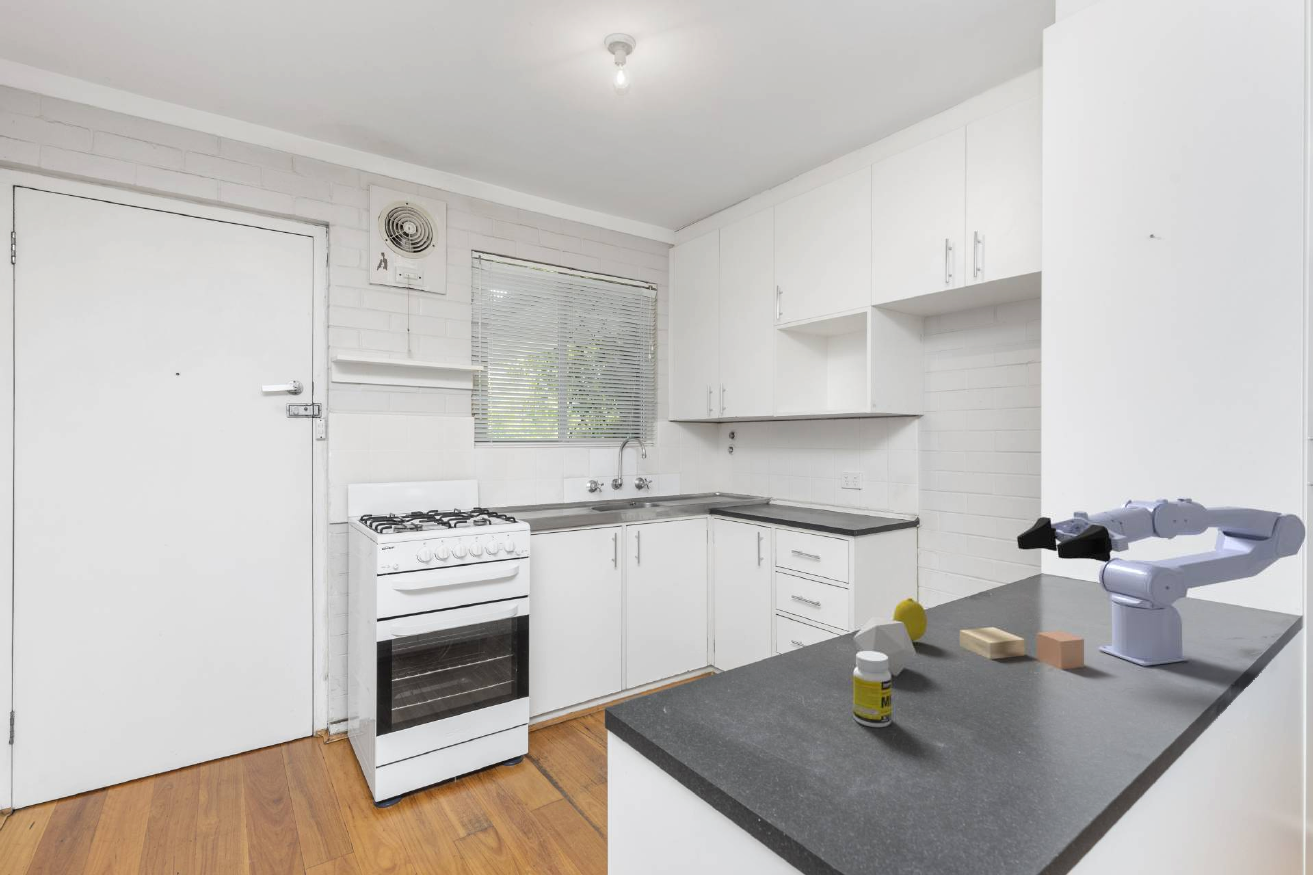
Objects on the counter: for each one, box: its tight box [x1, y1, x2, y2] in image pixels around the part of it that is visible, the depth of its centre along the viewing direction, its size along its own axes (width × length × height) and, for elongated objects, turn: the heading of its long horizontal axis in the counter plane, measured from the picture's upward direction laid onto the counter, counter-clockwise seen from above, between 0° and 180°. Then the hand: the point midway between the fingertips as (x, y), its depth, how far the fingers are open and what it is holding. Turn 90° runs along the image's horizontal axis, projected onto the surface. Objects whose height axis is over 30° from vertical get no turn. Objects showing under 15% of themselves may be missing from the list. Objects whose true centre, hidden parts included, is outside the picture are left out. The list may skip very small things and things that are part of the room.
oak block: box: [959, 626, 1026, 660], centre depth 107 cm, size 7×7×3 cm
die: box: [853, 616, 917, 677], centre depth 99 cm, size 8×9×10 cm
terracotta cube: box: [1036, 630, 1085, 671], centre depth 101 cm, size 4×4×4 cm
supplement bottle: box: [852, 651, 892, 728], centre depth 81 cm, size 5×5×8 cm
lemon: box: [893, 597, 928, 643], centre depth 112 cm, size 6×6×8 cm
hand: (1038, 547), depth 99 cm, fingers open, 7 cm apart
